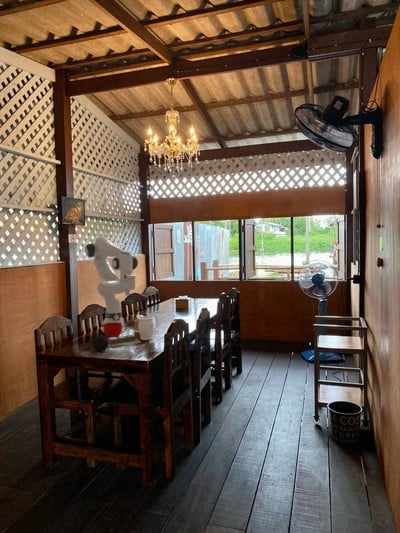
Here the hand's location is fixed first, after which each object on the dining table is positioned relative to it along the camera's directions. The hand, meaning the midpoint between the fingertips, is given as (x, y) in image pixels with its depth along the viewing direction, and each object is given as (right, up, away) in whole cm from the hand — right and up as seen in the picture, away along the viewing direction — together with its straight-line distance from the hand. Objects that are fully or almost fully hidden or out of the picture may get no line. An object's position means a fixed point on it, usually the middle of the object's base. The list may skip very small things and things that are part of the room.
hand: (127, 295), depth 270 cm
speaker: (-12, -33, -27) cm, 44 cm away
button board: (-2, -32, -9) cm, 33 cm away
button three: (+3, -30, -6) cm, 31 cm away
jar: (+13, -31, +3) cm, 34 cm away
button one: (-7, -30, -12) cm, 34 cm away
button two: (-2, -30, -9) cm, 31 cm away
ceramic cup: (-10, -31, +7) cm, 33 cm away
